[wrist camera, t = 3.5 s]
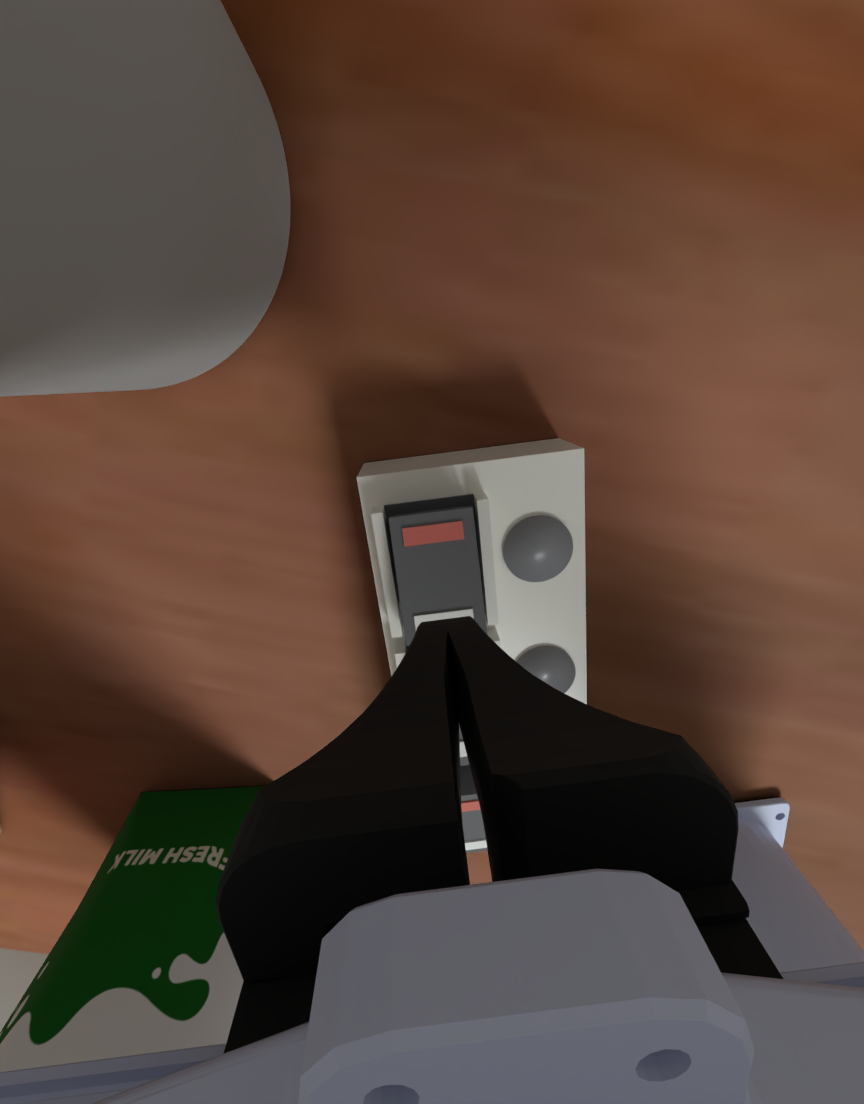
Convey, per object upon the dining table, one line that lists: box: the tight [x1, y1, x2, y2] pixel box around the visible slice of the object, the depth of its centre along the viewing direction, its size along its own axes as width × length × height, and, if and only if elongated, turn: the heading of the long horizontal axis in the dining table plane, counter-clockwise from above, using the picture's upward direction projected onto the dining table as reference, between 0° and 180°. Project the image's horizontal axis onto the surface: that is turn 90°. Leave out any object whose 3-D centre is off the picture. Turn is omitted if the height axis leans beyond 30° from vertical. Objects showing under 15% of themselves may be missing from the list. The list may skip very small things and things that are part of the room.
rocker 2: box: [460, 765, 488, 853], centre depth 21 cm, size 4×3×2 cm, turn 7°
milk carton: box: [0, 786, 265, 1072], centre depth 17 cm, size 9×9×20 cm
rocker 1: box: [388, 506, 487, 646], centre depth 17 cm, size 4×3×2 cm, turn 7°
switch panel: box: [356, 438, 587, 704], centre depth 22 cm, size 22×8×4 cm, turn 7°
